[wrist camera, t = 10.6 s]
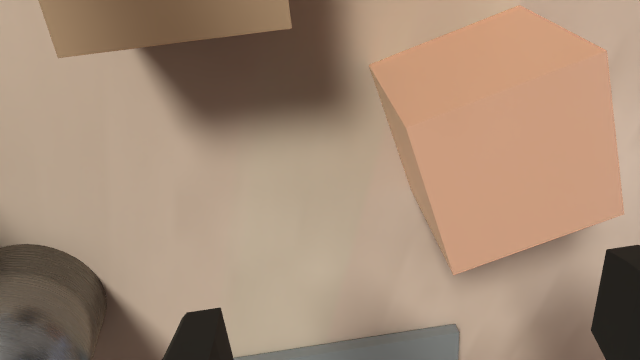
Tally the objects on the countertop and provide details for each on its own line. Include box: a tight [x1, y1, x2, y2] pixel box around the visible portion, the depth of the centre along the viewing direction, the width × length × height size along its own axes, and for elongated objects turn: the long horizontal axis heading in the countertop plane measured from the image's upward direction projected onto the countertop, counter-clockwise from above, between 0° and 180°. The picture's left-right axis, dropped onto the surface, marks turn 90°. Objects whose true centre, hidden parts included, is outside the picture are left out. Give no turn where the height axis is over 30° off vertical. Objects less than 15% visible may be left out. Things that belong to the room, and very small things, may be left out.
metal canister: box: [0, 244, 107, 360], centre depth 19 cm, size 5×5×5 cm
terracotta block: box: [369, 5, 624, 275], centre depth 17 cm, size 5×5×5 cm
